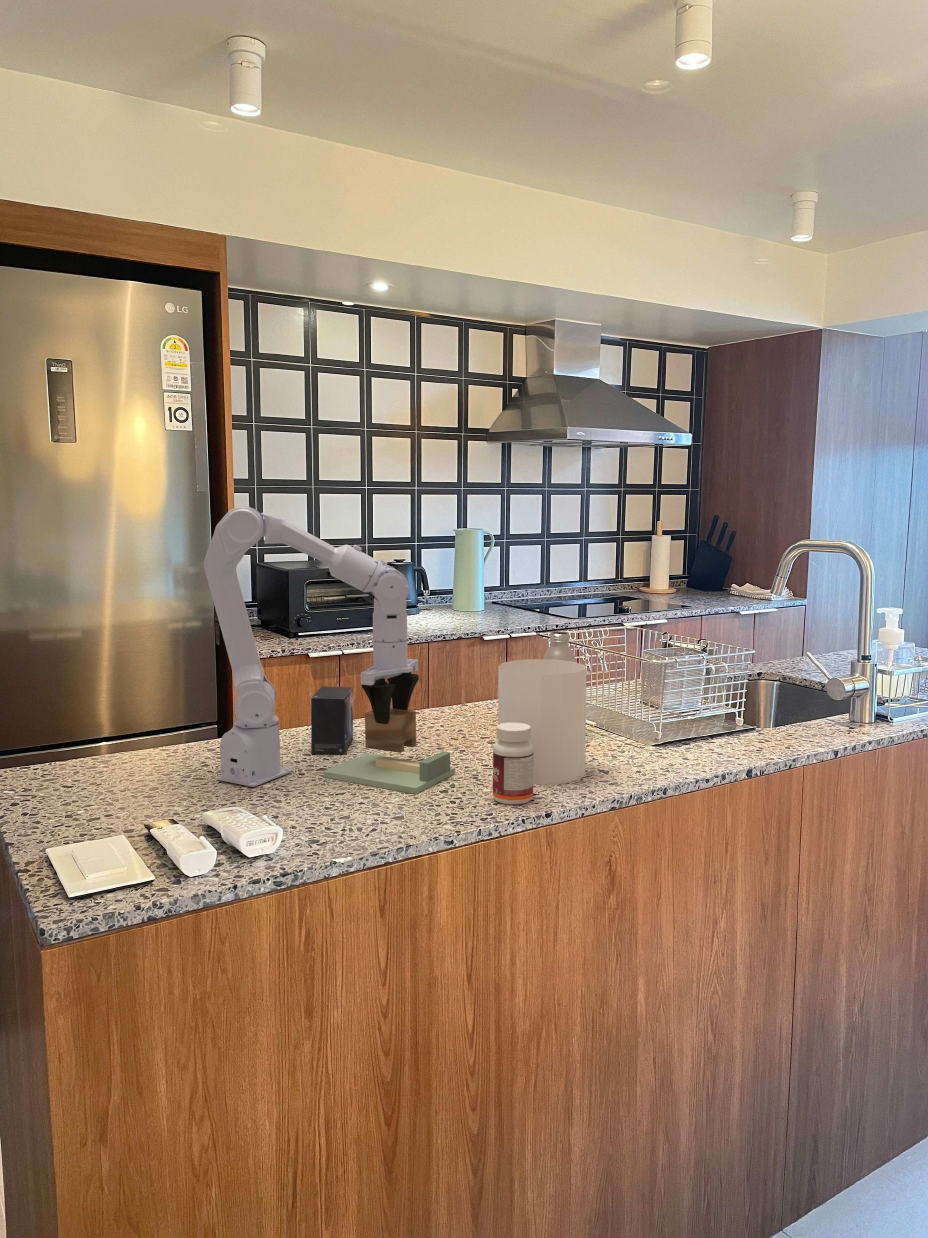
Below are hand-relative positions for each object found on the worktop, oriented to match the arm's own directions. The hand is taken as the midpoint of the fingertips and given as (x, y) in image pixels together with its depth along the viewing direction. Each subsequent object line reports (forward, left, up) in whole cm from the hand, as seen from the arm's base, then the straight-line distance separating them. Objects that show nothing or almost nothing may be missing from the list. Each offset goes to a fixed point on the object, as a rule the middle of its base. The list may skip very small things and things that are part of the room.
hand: (391, 719), depth 149 cm
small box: (+6, +17, -9) cm, 20 cm away
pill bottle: (-4, -25, -9) cm, 27 cm away
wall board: (-4, -2, -8) cm, 9 cm away
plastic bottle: (+34, -16, -9) cm, 38 cm away
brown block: (0, 0, -5) cm, 5 cm away
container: (+11, -23, -9) cm, 27 cm away
